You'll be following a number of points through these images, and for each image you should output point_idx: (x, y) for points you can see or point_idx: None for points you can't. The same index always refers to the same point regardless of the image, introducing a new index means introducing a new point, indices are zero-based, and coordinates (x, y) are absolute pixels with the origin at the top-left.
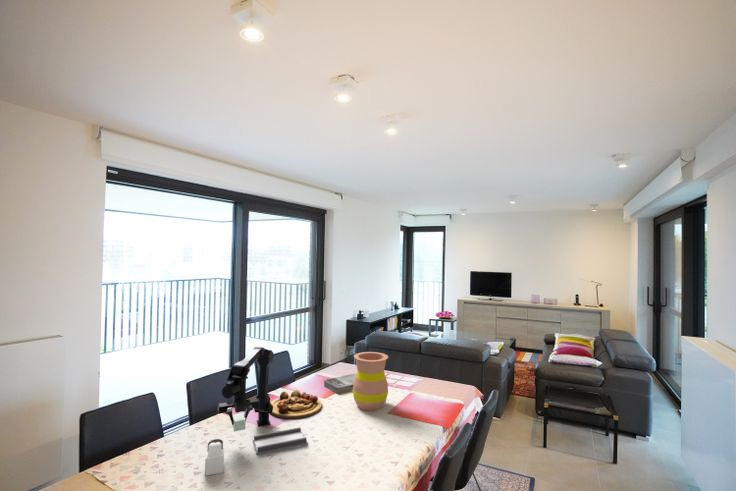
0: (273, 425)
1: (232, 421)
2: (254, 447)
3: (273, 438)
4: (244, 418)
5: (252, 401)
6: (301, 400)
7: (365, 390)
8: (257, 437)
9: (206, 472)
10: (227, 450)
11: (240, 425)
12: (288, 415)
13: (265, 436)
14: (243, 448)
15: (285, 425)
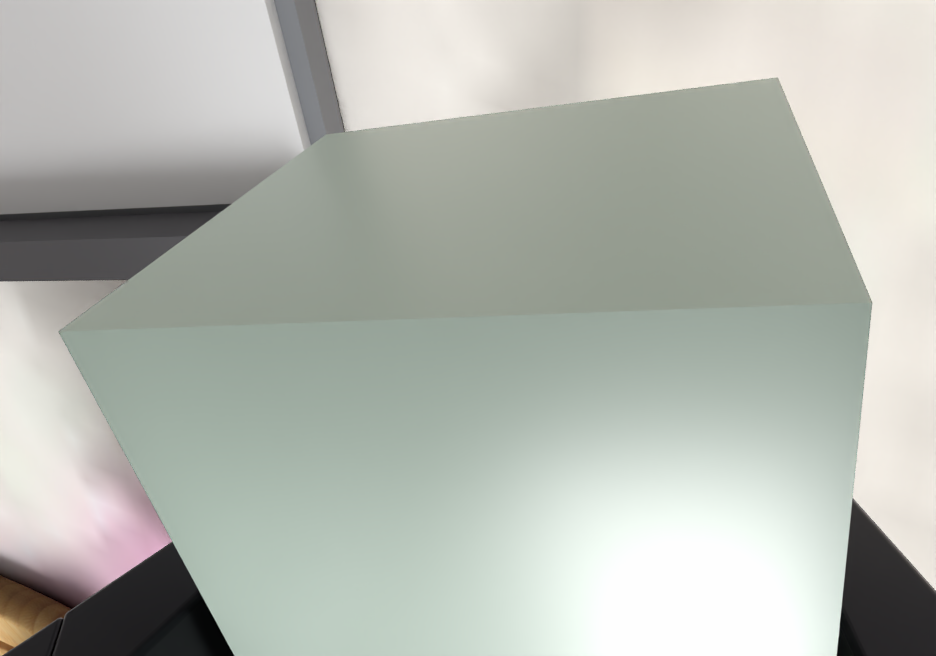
0: (166, 539)
1: (868, 585)
2: (315, 15)
3: (16, 157)
4: (174, 499)
5: None
6: None
7: None
8: None
9: None
10: (855, 76)
11: (451, 179)
12: (14, 622)
13: (128, 226)
14: (522, 56)
15: (31, 485)
